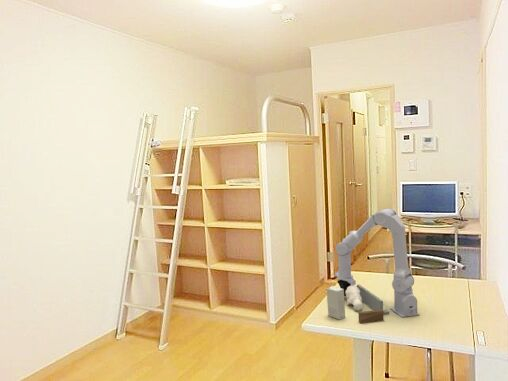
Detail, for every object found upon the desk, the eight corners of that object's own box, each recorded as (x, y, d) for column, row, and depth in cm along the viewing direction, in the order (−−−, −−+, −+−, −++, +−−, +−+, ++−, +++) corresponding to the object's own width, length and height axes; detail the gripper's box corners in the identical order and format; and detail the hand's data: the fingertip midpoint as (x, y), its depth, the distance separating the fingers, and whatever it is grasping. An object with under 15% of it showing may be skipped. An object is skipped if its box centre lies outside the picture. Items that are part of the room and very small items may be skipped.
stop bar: (383, 320, 160) (383, 310, 160) (360, 323, 158) (360, 313, 158) (381, 318, 162) (381, 309, 161) (358, 321, 160) (358, 312, 160)
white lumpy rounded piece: (358, 283, 180) (367, 295, 168) (358, 300, 182) (366, 313, 170) (344, 284, 180) (352, 295, 168) (344, 301, 181) (352, 314, 170)
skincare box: (345, 317, 165) (345, 288, 164) (338, 320, 162) (338, 291, 161) (333, 312, 170) (333, 285, 169) (326, 315, 167) (326, 287, 166)
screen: (389, 314, 166) (389, 300, 166) (380, 315, 165) (379, 301, 165) (365, 296, 188) (365, 283, 187) (356, 297, 187) (356, 284, 186)
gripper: (361, 270, 179) (361, 299, 180) (343, 262, 193) (343, 289, 194) (347, 272, 177) (348, 301, 178) (330, 264, 190) (331, 291, 191)
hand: (345, 295), depth 186 cm, fingers closed
